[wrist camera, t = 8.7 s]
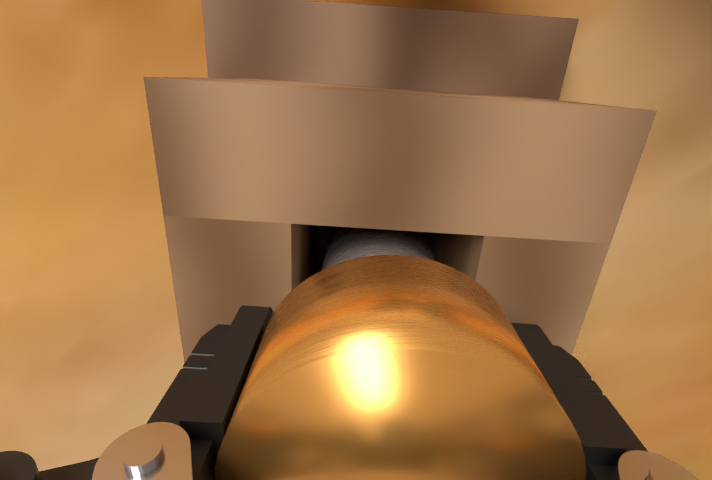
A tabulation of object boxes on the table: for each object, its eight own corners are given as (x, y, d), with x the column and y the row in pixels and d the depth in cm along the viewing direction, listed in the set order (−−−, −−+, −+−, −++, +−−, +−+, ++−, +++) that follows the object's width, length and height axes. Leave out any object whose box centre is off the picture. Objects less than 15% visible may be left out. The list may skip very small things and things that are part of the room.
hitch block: (560, 23, 17) (783, -39, 8) (482, 356, 24) (552, 519, 15) (214, 0, 16) (45, -90, 8) (239, 341, 23) (165, 497, 15)
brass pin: (462, 180, 14) (642, 362, 5) (439, 314, 17) (534, 605, 7) (302, 170, 14) (196, 336, 5) (302, 306, 17) (228, 589, 7)
